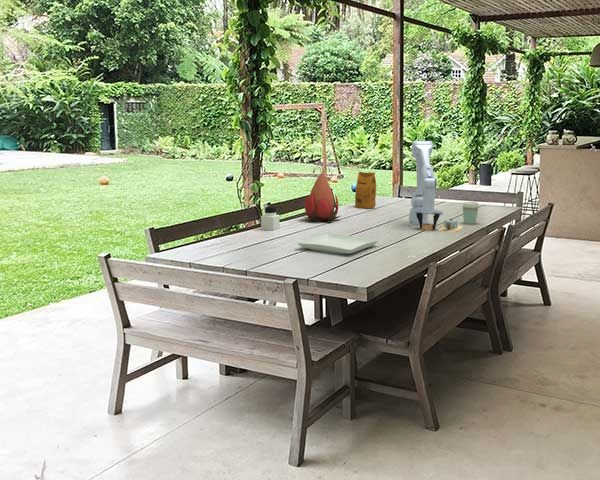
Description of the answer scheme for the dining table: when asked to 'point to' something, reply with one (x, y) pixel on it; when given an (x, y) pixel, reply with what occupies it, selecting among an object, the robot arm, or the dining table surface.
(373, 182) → the coffee package
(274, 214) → the medicine bottle
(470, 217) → the coffee cup
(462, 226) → the gear board
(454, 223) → the gear
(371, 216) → the dining table surface
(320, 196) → the decorative flower
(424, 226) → the loose gear
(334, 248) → the square plate
